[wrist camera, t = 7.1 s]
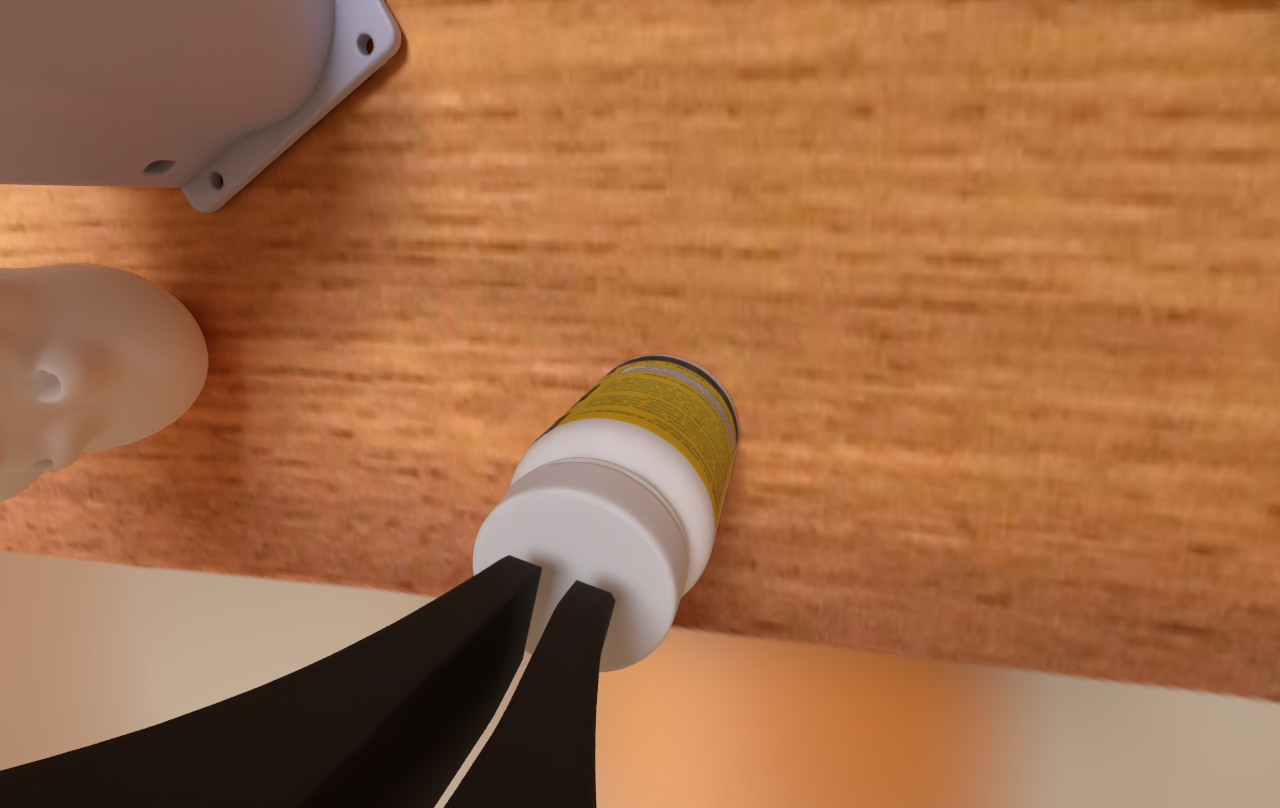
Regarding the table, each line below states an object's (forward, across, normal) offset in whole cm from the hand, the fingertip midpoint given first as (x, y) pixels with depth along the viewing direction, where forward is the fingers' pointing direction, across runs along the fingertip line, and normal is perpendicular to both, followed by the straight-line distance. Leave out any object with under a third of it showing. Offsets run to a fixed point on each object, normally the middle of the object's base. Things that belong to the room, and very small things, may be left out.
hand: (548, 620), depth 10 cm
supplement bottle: (+10, 0, 0) cm, 10 cm away
